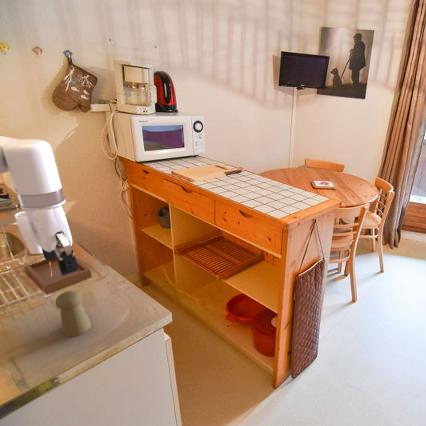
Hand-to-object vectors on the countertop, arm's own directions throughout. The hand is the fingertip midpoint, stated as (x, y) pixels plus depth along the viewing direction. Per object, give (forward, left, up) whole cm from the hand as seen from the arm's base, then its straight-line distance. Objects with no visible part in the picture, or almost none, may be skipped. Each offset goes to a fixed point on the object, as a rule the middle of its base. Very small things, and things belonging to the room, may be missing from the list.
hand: (61, 264), depth 76 cm
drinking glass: (-27, +45, -20) cm, 56 cm away
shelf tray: (-15, +28, -20) cm, 37 cm away
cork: (-1, 0, -20) cm, 20 cm away
